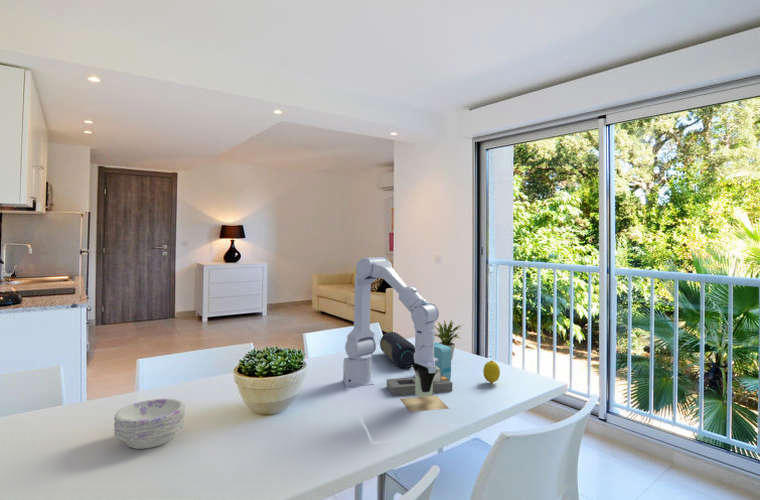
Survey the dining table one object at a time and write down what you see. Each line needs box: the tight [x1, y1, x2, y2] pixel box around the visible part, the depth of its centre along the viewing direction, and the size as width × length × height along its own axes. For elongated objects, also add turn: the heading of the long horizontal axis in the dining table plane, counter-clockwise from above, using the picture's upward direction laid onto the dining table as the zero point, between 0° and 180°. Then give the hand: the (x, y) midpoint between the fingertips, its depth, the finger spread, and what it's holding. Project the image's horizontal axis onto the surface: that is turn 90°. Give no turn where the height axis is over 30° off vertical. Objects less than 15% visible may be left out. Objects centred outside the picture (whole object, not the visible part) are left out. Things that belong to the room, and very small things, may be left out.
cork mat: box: [400, 395, 450, 413], centre depth 130 cm, size 12×10×1 cm
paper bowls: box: [113, 398, 186, 450], centre depth 106 cm, size 15×15×8 cm
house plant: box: [434, 319, 465, 361], centre depth 177 cm, size 14×14×16 cm
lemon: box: [482, 359, 501, 384], centre depth 149 cm, size 6×6×8 cm
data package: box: [434, 341, 452, 381], centre depth 155 cm, size 12×4×12 cm, turn 36°
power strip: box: [386, 375, 453, 397], centre depth 142 cm, size 20×8×4 cm, turn 103°
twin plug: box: [433, 367, 440, 382], centre depth 143 cm, size 4×3×7 cm, turn 103°
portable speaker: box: [379, 331, 415, 368], centre depth 175 cm, size 25×10×10 cm, turn 16°
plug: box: [414, 370, 434, 397], centre depth 129 cm, size 4×3×7 cm, turn 103°
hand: (423, 389), depth 129 cm, fingers closed on plug, 3 cm apart
